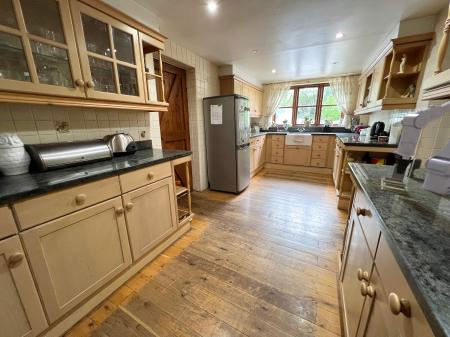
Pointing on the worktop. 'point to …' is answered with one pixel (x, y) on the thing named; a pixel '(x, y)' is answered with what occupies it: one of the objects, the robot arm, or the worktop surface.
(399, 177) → the plug
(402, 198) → the worktop surface
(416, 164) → the battery charger
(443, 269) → the worktop surface
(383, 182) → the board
